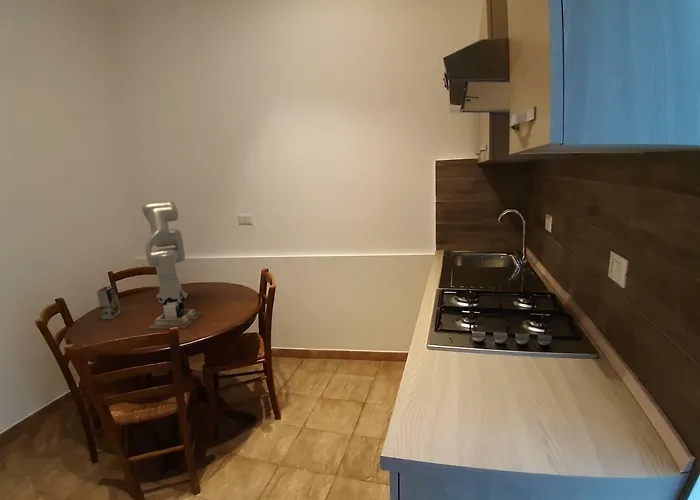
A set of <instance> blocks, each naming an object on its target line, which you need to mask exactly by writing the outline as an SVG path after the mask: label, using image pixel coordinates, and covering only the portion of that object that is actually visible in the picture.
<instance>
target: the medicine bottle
mask: <svg viewBox="0 0 700 500" xmlns="http://www.w3.org/2000/svg"><path fill="white" fill-rule="evenodd" d="M166 302H167V304H166V305H164V306H162V308H163V314H165V319H178V318H180V317H181V316H183V315H184V314H185V311H184V309H185V307H184V308H183V309H182V310H180V309H179V303H180V302H179V301H178V300H177V299H172V298H171V297H168V298H167V300H166Z"/></svg>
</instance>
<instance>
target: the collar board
mask: <svg viewBox="0 0 700 500" xmlns="http://www.w3.org/2000/svg"><path fill="white" fill-rule="evenodd" d="M184 311H185V314H184V315H183V316H181V317H180V318H178V319H165V314H164V313H162V314H160V316H158V317H156V319H154V322H153V323H152V324H151V325H150V326H147V331H153V330H170V329H169V328H172V327H178V328H179V329H178V330H187V329H188V328H189V327H190V326H191V325H192V324H193V323H195V321H197V320H198V319H199V318H200V317H201V316H202V315H203V312H202V311H200V312H196V310H195V308H187V309H186V308H184Z"/></svg>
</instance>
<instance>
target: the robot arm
mask: <svg viewBox="0 0 700 500" xmlns="http://www.w3.org/2000/svg"><path fill="white" fill-rule="evenodd" d="M141 210H142V211H141V212H142V214H143V215H144V217H145V219H146V220H147V222H148V223H149V226H150V233H151V235H150V237H149V238H148V239H147V241H146V243H145V254H146V255H145V256H146V261H147V264H148V265H149V266H150V267H155V269H156V275H157V280H158V287H159V292H158V293H157V294H156V296H155V297H156V298H157V299H158V303H160V304H162V305H163V306H164V305H166V304H167V302H166V300H167V298H168V297H171V298H172V299H177V300H178V301H179V302H180V303H179V309H180V310H182V309H183V308H184V309H185V304H184V302H185V300H186V298H187V296H188V293H187V292H185V291H184V290H183V288H182V284H181V281H180V278H178V275H177V270H176V269H177V267H176V264H178V263H182V262H184V261H185V259H186V253H185V248H184V247H185V246H184V240H183V236H182V233H181V231H180V230H179V229H177V228H171V229H169V224H168V223H169V222H170V223H171V222H176V221H178V219H179V211H178V208H177V206H176V204H175V202H174V201H172V200H171V201H170V200H168V201H158V202H157V201H156V202H148V203H145V204H143V205H142V207H141ZM153 246H154V247H155V248H156V247H157V248H159V249H156V250H155V251H153V250H152V248H153ZM173 246H174V247H173ZM166 247H167V248H166ZM163 306H162V307H163Z"/></svg>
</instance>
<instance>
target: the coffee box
mask: <svg viewBox="0 0 700 500" xmlns="http://www.w3.org/2000/svg"><path fill="white" fill-rule="evenodd" d="M96 294H97V300H98V305H99V311H100V316H101V320H111V319H115V318H116V317H117V316H118V315H120V314H121V307H120V303H119V297H118V293H117V286H116V285H109V286H104V287H102V288H100V289H99V290H97V291H96Z"/></svg>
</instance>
